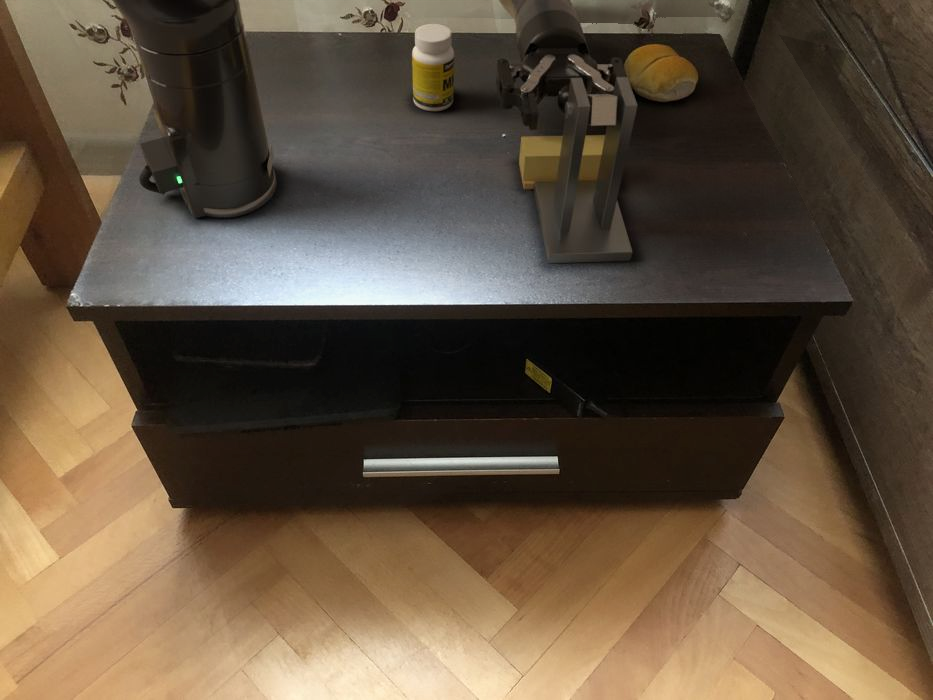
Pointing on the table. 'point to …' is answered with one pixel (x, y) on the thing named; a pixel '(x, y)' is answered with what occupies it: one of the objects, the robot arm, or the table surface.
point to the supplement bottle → (433, 67)
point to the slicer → (587, 186)
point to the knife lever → (594, 107)
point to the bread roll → (660, 73)
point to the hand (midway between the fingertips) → (572, 122)
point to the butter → (556, 158)
